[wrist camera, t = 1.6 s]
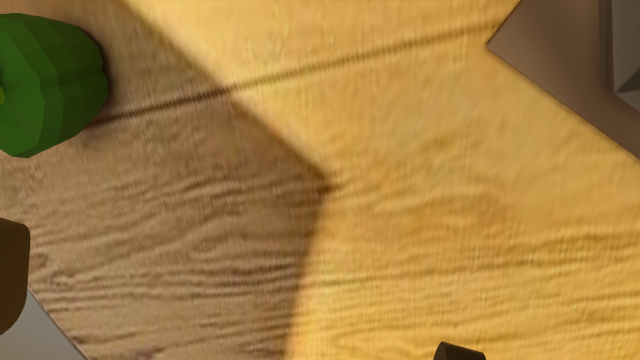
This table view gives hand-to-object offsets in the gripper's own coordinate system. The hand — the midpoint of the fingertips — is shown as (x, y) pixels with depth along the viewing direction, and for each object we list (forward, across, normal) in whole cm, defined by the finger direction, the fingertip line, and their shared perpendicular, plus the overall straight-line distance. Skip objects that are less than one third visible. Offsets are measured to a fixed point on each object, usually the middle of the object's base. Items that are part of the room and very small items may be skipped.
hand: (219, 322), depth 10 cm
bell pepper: (+28, +20, +2) cm, 34 cm away
